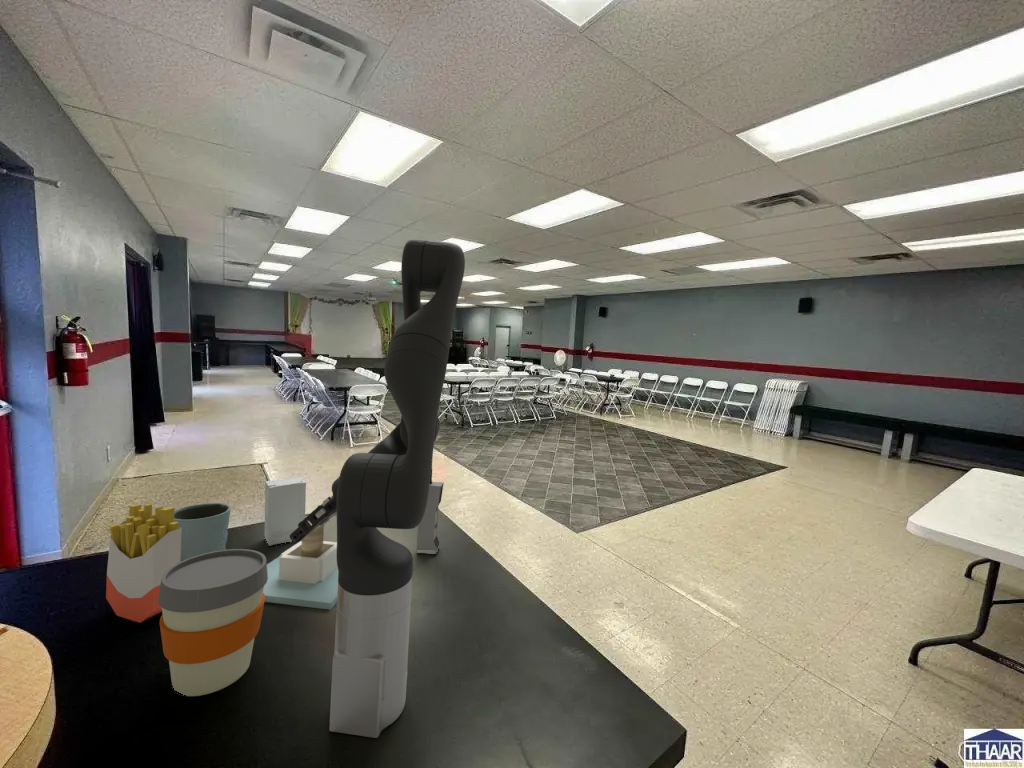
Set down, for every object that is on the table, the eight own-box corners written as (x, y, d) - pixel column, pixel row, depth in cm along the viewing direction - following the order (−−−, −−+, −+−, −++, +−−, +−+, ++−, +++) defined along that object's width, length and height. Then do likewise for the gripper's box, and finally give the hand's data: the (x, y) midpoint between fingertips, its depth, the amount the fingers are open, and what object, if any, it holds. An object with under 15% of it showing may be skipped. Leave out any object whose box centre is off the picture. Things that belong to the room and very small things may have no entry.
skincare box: (299, 532, 107) (302, 475, 107) (305, 540, 102) (308, 481, 102) (262, 539, 102) (264, 479, 101) (266, 548, 97) (269, 485, 97)
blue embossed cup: (239, 558, 91) (241, 505, 91) (201, 581, 81) (203, 521, 81) (197, 554, 92) (199, 500, 92) (153, 576, 82) (156, 516, 82)
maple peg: (314, 576, 84) (317, 527, 83) (295, 574, 84) (298, 525, 84) (325, 567, 88) (328, 520, 87) (307, 565, 88) (310, 518, 88)
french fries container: (149, 627, 67) (153, 518, 66) (102, 613, 70) (106, 508, 69) (178, 612, 71) (182, 509, 71) (133, 599, 74) (137, 500, 74)
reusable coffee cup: (246, 631, 67) (250, 541, 67) (278, 670, 60) (283, 568, 59) (144, 672, 58) (148, 566, 57) (167, 725, 50) (172, 603, 49)
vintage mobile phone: (437, 555, 99) (442, 451, 98) (416, 554, 99) (421, 450, 98) (440, 548, 103) (445, 448, 102) (419, 547, 103) (425, 447, 102)
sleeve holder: (330, 609, 75) (331, 578, 75) (227, 597, 77) (228, 567, 76) (376, 560, 95) (378, 535, 95) (294, 551, 97) (295, 527, 96)
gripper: (365, 460, 91) (313, 506, 93) (331, 475, 77) (271, 530, 79) (387, 485, 91) (335, 532, 92) (357, 506, 77) (296, 561, 78)
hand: (305, 531), depth 86 cm, fingers open, 8 cm apart
